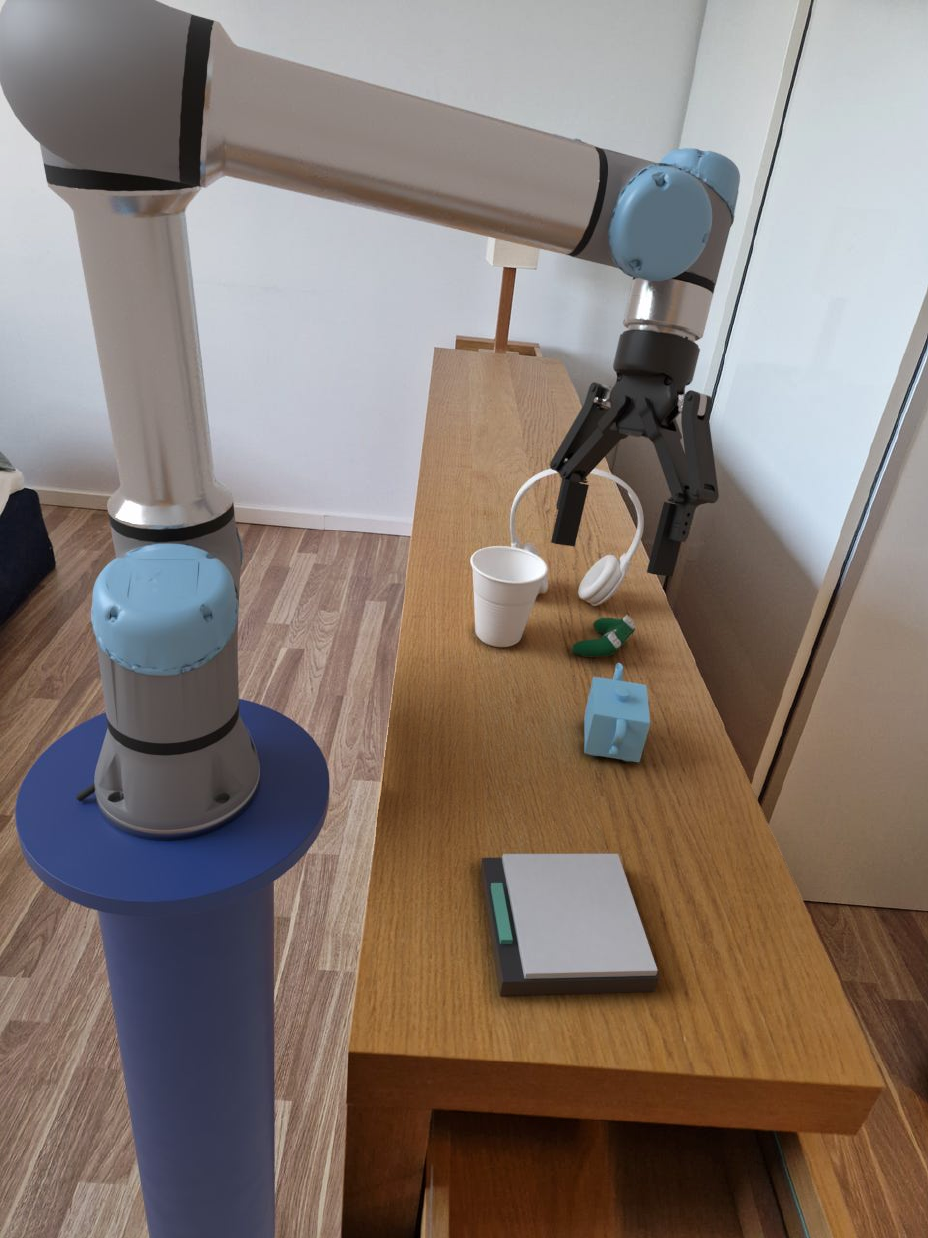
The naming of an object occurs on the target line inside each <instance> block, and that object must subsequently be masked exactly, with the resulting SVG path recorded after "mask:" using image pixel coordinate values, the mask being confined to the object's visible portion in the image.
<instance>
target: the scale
mask: <svg viewBox="0 0 928 1238" xmlns="http://www.w3.org/2000/svg"><path fill="white" fill-rule="evenodd" d="M479 874H480V882H481V887H482V892H483V893H482V894H483V899H484V907H485V912H486V918H487V925H488V931H489V937H490V944H491V949H492V956H493V962H494V969H495V977H496V981H497V987H498V993H499V997H505V996H508V997H509V996H540V995H542V996H545V995H547V996H549V995H578V994H579V995H580V994H581V995H583V994H615V993H618V994H619V993H620V994H621V993H649V992H650V993H653V992H655V990H656V987H657V984H658V982H659V979H660V977H659V974H658V971H659V970H658V967H657V964H656V961H655V958H654V954H653V952H652V950H651V946H650V944H649V940H648V938H647V935H646V932H645V928H644V925H643V923H642V919H641V917H640V914H639V911H638V908H637V905H636V903H635V899H634V896H633V894H632V890H631V887H630V884H629V882H628V879H627V876H626V873H625V869H624V867H623V863H622V861H621V858H620V854H619V853H502V857H482V858H481V862H480V869H479Z"/></svg>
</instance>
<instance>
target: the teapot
mask: <svg viewBox="0 0 928 1238" xmlns="http://www.w3.org/2000/svg"><path fill="white" fill-rule="evenodd" d="M650 717H651V716H650V707H649V697H648V687H647V685H646V684H642V683H636V682H630V681H625V680H624V666H623V664H622V663H621V662H617V663H616V664H615V668H614V673H613V676H612V678H606V677H599V676H592V680H591V685H590V689H589V693H588V697H587V701H586V707H585V710H584V719H583V720H584V722H583V723H584V727H583V728H584V731H583V732H584V738H583V739H584V741H583V743H584V748H583V750H584V754H587V755H590V756H592V757H604V758H611V759H616V760H622V761H623V762H635V763H640V761H641V758H642V754H643V751H644V747H645V744H646V741H647V736H648V733H649V729H650V726H651V718H650Z"/></svg>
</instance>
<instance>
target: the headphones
mask: <svg viewBox="0 0 928 1238" xmlns="http://www.w3.org/2000/svg"><path fill="white" fill-rule="evenodd" d="M554 474H559V473H558V472H557V471H555V470H552V469H551V468H548V469H545V470H542V471H540V472H538V473H536V474H534V475H533V476H532V477H530V478H528V480H526V481H525V483H523V484H522V485H521V487H520V488H519V490H518V491H517V493H516V495H515V497H514V499H513V502H512V505H511V509H510V516H509V530H510V539H511V543H510V547H515V548H520V549H523V550H526V551H529V552H531V553H533V554H535V555H537V556H539V557H540V558H541V559H542V557H541V555H540V553H539V551H538V549H537V548H536V546H535V545H534V544H533V543H532V542H529V541H528V542H525V543H524V544H523V545H521V541H520V538H519V536H518V535H517V530H516V516H517V512H518V511H517V510H518V508H519V505H520V503H521V500H523V498H524V496H525V495H526V493H528V491H530V489H532V488H533V487H534V486H535V485H537V484H538V483H539V482H540V479H542V478H545V477H548V476H551V475H554ZM589 475H595V476H598V477H602V478H605V479H608V480H610V481H612V482H614V483H617V484H618V485H620V486H621V487H622V488H624V489H625V490H626V491H627V495H628V498H630V500H631V502H632V504H633V505H634V508H635V511H636V516H637V527H636V531H635V535H634V538H633V540H632V542H631V544H630V546H629V548H628V550H627V552H624V553H623V554H622V555H621V556H620V558H619V560H618V559H617V557H616V556H615V555H613V554H607V555H604V556H603V557H601V558H599V559H598V560H597V561H596V562H595V563H594V564H593V565H592V566H591V567H590V568H589V569H588V570H587V572H586V573H585V575H584V576H583V578H582V579H581V582H580V584H579V586H578V591H577V594H578V597H579V599H581V601H582V600H583V601H585V602H586V603H588V604H589V605H591V606H592V607H597V606H601V605H602V604H604V603H605V602H607V601H609V600H610V599H611V598H612V597H613V596H614V595H615V593H617V591H618V590H619V588H620V587H621V585H622V584H623V581H624V579H625V577H626V575H627V573H628V571H629V568H630V566H631V560H632V559H633V557H634V555H635V554H636V552H637V550H638V548H639V546H640V544H641V540H642V537H643V534H644V527H645V526H644V525H645V520H644V517H645V516H644V511H643V507H642V504H641V502H640V501H641V500H640V499H639V497H638V495H637V494H636V492H635V491H634V490H633V489H632V488H631V487H630V485H629V484H627V483H626V482H625V481H624V480H622V479H621V478H619V477H618V476H616V475H614V474H612V473H610V472H608V471H605V470H601V469H598V468H594V469H593V470H592V471H591V473H590V474H589ZM548 589H549V581H548V574H547V575H546V576H545V577H544V579H543V581H542V584H541V586H540V589H539V592H538V594H537V595H540V594H545V593H547V591H548Z"/></svg>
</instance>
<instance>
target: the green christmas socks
mask: <svg viewBox="0 0 928 1238" xmlns="http://www.w3.org/2000/svg"><path fill="white" fill-rule="evenodd" d="M593 629H594V630H595V632H597V633H599V634H602V637H599V638H598V637H597V638H591V639H590V638H589V639H583V640H580V641H577V642H575V643H573V644H572V651H571V652H572V654H573V655H577V656H580V657H586V658H601V657H611V656H613V654H615V653H617V652H618V651H619V650H620V649H621V648H622V647H623V645H624V644H625V643H626V642H627V640H629V638H630V637H631V635H633V633H634V632H635V631H636V624H635V622H634V621H633V619H632V618H631V617H630V616H629V615H628V614H626V615H625V616H624V617H622V618H613V617H600V618H597V619H596V620H595V621H594V622H593Z"/></svg>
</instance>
